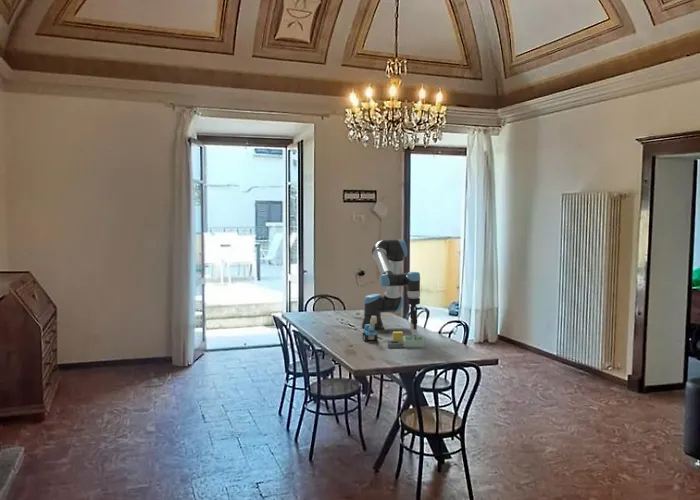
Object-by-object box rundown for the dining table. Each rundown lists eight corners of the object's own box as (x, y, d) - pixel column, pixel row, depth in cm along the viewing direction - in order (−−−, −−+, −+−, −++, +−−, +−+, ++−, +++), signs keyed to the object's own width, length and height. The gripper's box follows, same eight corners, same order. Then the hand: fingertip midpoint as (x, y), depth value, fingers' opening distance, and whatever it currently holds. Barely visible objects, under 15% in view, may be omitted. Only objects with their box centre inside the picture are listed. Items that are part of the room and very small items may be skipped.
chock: (392, 340, 377) (392, 331, 376) (402, 340, 377) (402, 331, 376) (393, 342, 373) (393, 332, 372) (402, 342, 373) (402, 332, 372)
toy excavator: (367, 344, 368) (367, 316, 367) (361, 338, 384) (361, 312, 383) (380, 343, 370) (380, 316, 368) (374, 337, 386) (374, 311, 385)
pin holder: (387, 344, 366) (387, 340, 366) (401, 344, 366) (401, 340, 366) (388, 347, 357) (388, 343, 357) (402, 347, 357) (402, 343, 357)
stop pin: (410, 343, 365) (410, 319, 364) (416, 343, 365) (416, 319, 364) (410, 344, 361) (410, 320, 360) (417, 344, 361) (417, 320, 360)
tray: (403, 343, 370) (403, 336, 369) (422, 343, 369) (422, 336, 369) (404, 347, 358) (404, 340, 357) (424, 347, 357) (424, 340, 357)
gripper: (405, 294, 374) (405, 327, 375) (409, 300, 349) (409, 336, 351) (417, 294, 374) (417, 327, 375) (422, 300, 349) (421, 336, 350)
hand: (413, 332), depth 363 cm, fingers open, 13 cm apart
